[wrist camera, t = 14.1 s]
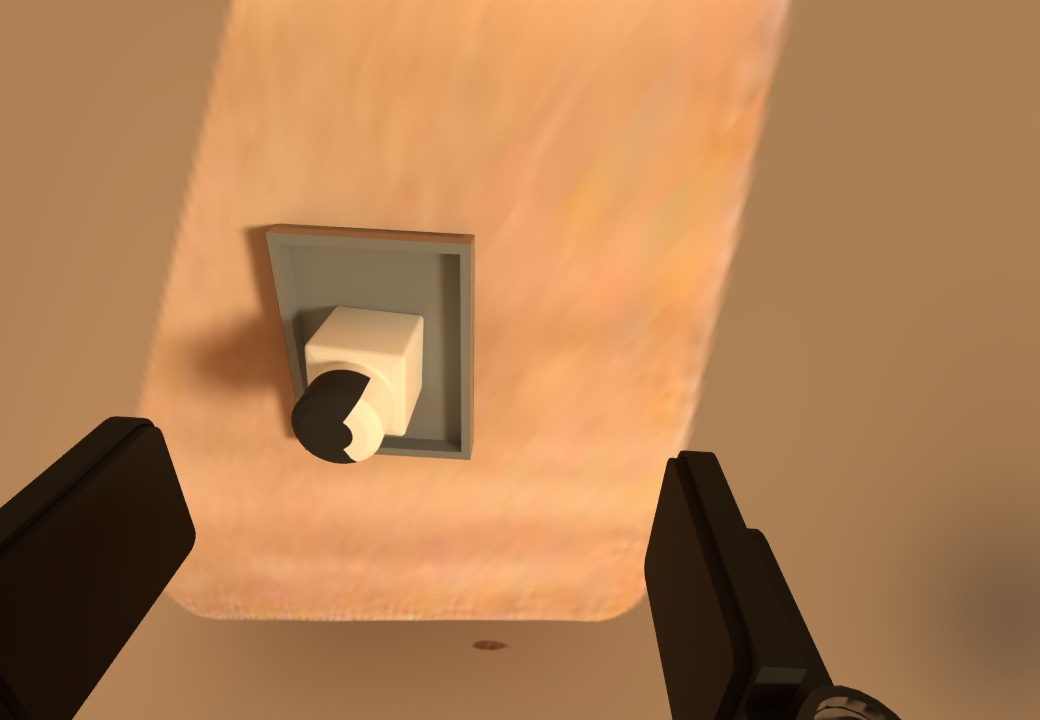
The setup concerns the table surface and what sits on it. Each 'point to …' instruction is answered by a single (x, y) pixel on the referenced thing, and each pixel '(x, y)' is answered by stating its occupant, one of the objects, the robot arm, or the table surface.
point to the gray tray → (393, 288)
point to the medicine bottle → (359, 382)
